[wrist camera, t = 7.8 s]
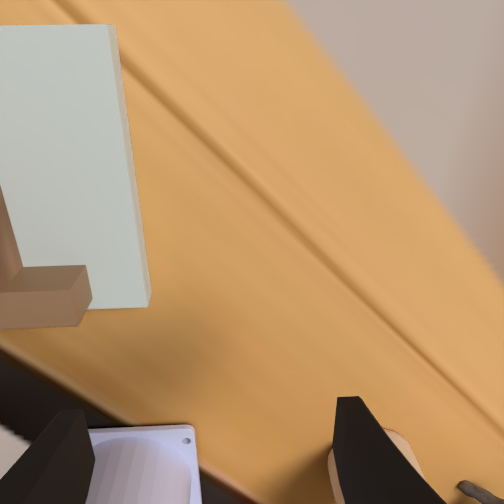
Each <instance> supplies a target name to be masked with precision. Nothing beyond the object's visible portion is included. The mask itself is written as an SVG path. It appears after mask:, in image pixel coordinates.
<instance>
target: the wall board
mask: <svg viewBox="0 0 504 504" xmlns="http://www.w3.org/2000/svg"><path fill="white" fill-rule="evenodd" d="M0 186H1V189H2V193H3V196H4V200H5V204H6V207H7V211H8V214H9V218H10V221H11V225H12V228H13V232H14V235H15V239H16V242H17V246H18V249H19V253H20V257H21V260H22V264H23V268H22V269H21V270H20V271H19V272H18V273H17V275H16V276H15V277H14V278H13V279H12V280H11V281H10V282H9V283H8V285H7V286H6V287H5V288H4V289H3V290H2V291H1V292H0V329H24V328H50V327H76V326H79V324H80V322H81V320H82V318H83V316H84V314H85V312H86V311H87V309H111V308H138V307H148V305H149V301H150V298H151V295H152V292H151V284H150V277H149V270H148V262H147V255H146V248H145V240H144V233H143V226H142V218H141V211H140V204H139V196H138V189H137V182H136V174H135V167H134V160H133V152H132V145H131V138H130V130H129V123H128V116H127V108H126V101H125V93H124V86H123V79H122V71H121V64H120V57H119V49H118V42H117V35H116V27H115V25H109V24H92V25H9V26H0Z"/></svg>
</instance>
